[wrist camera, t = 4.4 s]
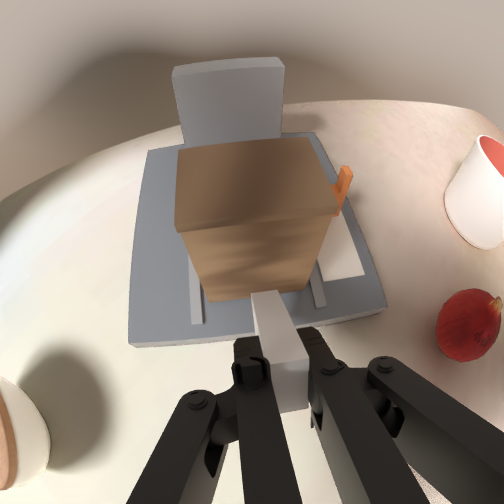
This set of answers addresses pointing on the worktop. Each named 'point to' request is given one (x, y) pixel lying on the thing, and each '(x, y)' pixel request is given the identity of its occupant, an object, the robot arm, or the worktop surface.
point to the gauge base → (172, 245)
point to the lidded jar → (21, 438)
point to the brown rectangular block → (252, 214)
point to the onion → (468, 324)
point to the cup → (479, 195)
